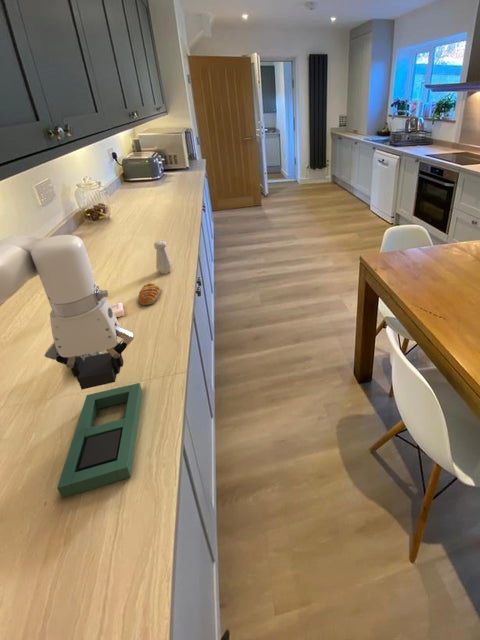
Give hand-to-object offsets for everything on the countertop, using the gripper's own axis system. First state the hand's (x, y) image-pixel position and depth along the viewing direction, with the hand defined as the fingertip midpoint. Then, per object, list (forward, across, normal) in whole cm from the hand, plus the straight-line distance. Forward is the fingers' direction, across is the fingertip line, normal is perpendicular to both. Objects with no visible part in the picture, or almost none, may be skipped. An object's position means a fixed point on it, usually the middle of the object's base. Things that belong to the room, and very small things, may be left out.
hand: (100, 372), depth 67 cm
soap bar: (+12, +8, -39) cm, 42 cm away
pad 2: (+12, 0, +10) cm, 16 cm away
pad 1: (+1, 0, 0) cm, 1 cm away
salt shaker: (+13, -8, -64) cm, 66 cm away
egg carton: (+12, +9, -20) cm, 26 cm away
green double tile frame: (+12, 0, +6) cm, 14 cm away
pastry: (+13, -4, -46) cm, 48 cm away
